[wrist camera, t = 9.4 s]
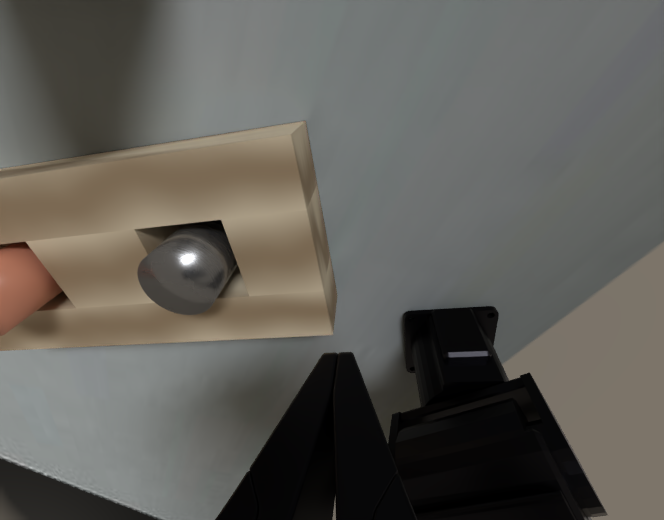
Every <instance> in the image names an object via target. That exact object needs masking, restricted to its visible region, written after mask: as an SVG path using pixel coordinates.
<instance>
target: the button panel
mask: <svg viewBox="0 0 664 520" xmlns="http://www.w3.org/2000/svg"><path fill="white" fill-rule="evenodd" d="M213 220H221V221H222V224H223V226H224V229H225V232H226V234H227V237H228V240H229V243H230V245H231V248H232V251H233V253H234V256H235V259H236V261H237V264H238V265H237V267H236V269H235V270H234V272H233V273H232V275H231V276H230V278H229V280H228V281H227V283H226V284H225V286H224V288H223V289H222V291H221V292H220V294H219V295H218V297H217V299H216V300H215V302H214V303H213V305H212V306H211V307H210V308H209V309H208V310H207V311H205V312H203V313H201V314H197V315H182V314H177V313H174V312H171V311H168V310H166V309H164V308H162V307H161V306H159V305H158V304H156V303H155V302H154V301H152V300H151V299H150V298H149V297H148V296H147V295H146V293H145V292H144V291H143V289H142V287H141V285H140V283H139V280H138V275H137V271H138V266H139V264H140V262H141V261H142V260H143V259H144V258H145V257H146V256H147V255H148V254H149V253H151V252H152V251H153V250H154V249H155V248H156V247H157V246H159V245H160V244H161V243H162V242H163V241H164V240H165V239H167V238H168V237H169V236H170V235H171V234H172V233H173V232H175V231H176V230H177V229H178V228H179V227H180V226H182V225H183V224H187V223H196V222H204V221H213ZM17 242H26V243H27V244H28V246H29V247H30V248H31V249H32V251H33V252H34V253H35V255H36V256H37V257H38V259H39V260H40V261H41V263H42V264H43V265H44V267H45V268H46V269H47V270H48V272H49V273H50V274H51V276H52V277H53V278H54V280H55V281H56V282H57V284H58V285H59V286H60V288H61V289H62V290H63V291H62V292H61V293H60V294H58V295H57V296H56V297H54V298H53V299H52V300H50V301H49V302H48V303H46V304H45V305H44V306H42V307H41V308H39V309H38V310H37V311H35V312H34V313H33V314H31V315H30V316H29V317H27V318H26V319H25V320H23V321H22V322H21V323H19V324H18V325H17V326H15V327H14V328H13V329H11V330H10V331H9V332H7V333H6V334H5V335H3V336H0V351H5V350H26V349H47V348H68V347H90V346H111V345H132V344H153V343H175V342H196V341H217V340H238V339H259V338H281V337H302V336H323V335H333V329H334V320H335V312H336V303H337V291H336V285H335V280H334V274H333V269H332V263H331V258H330V252H329V247H328V241H327V236H326V230H325V225H324V219H323V214H322V208H321V203H320V197H319V192H318V186H317V181H316V175H315V170H314V164H313V159H312V153H311V148H310V142H309V137H308V131H307V126H306V121H301V122H294V123H288V124H282V125H275V126H269V127H263V128H256V129H250V130H244V131H237V132H231V133H225V134H218V135H212V136H206V137H199V138H193V139H187V140H180V141H174V142H168V143H161V144H155V145H149V146H142V147H136V148H130V149H123V150H117V151H111V152H104V153H98V154H92V155H85V156H79V157H73V158H66V159H60V160H53V161H47V162H41V163H34V164H28V165H22V166H15V167H9V168H3V169H0V249H2V248H4V247H6V246H8V245H10V244H12V243H17Z"/></svg>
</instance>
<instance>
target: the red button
mask: <svg viewBox="0 0 664 520" xmlns="http://www.w3.org/2000/svg"><path fill="white" fill-rule="evenodd" d="M62 291H63V290H62V289H61V288H60V286H59V285H58V284H57V282H56V281H55V280H54V278H53V277H52V276H51V274H50V273H49V272H48V270H47V269H46V268H45V267H44V265H43V264H42V263H41V261H40V260H39V259H38V257H37V256H36V255H35V253H34V252H33V251H32V249H31V248H30V247H29V246H28V244H27V243H26V242H17V243H12V244H10V245H8V246H6V247H4V248H2V249H0V336H3V335H5V334H6V333H7V332H9V331H10V330H11V329H13V328H14V327H15V326H17V325H18V324H19V323H21V322H22V321H23V320H25V319H26V318H27V317H29V316H30V315H31V314H33V313H34V312H35V311H37V310H38V309H39V308H41V307H42V306H44V305H45V304H46V303H48V302H49V301H50V300H52V299H53V298H54V297H56V296H57V295H58V294H60V293H61V292H62Z"/></svg>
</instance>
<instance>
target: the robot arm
mask: <svg viewBox="0 0 664 520" xmlns="http://www.w3.org/2000/svg"><path fill="white" fill-rule="evenodd" d="M489 313H491V314H489ZM410 317H413V318H410ZM497 321H498V312H497V310H496V308H495V307H492V306H487V307H469V308H452V309H434V310H417V311H408V312H406V313H405V314H404V329H405V353H406V369H407V371H408V372H410V373H416V379H417V385H418V391H419V397H420V402H421V407H420V408H417V409H414V410H410V411H407V412H404V413H401V412H398V413H395V414H392V420H391V427H390V435H389V442H388V444H387V441H386V438H385V436H384V433H383V430H382V428H381V425H380V423H379V420H378V417H377V415H376V412H375V409H374V407H373V404H372V402H371V399H370V396H369V394H368V391H367V388H366V386H365V383H364V380H363V378H362V375H361V373H360V370H359V367H358V365H357V362H356V359H355V357H354V354H353V353H352V352H341V353H339V354H337V353H324V354H323V355H322V356H321V358H320V359H319V361H318V362H317V364H316V366H315V367H314V369H313V370H312V372H311V373H310V375H309V376H308V378H307V380H306V381H305V383H304V384H303V386H302V387H301V389H300V391H299V392H298V394H297V395H296V397H295V398H294V400H293V401H292V403H291V405H290V406H289V408H288V409H287V411H286V412H285V414H284V415H283V417H282V419H281V420H280V422H279V423H278V425H277V426H276V428H275V430H274V431H273V433H272V434H271V436H270V437H269V439H268V440H267V442H266V444H265V445H264V447H263V448H262V450H261V451H260V453H259V454H258V456H257V458H256V459H255V461H254V462H253V464H252V465H251V467H250V471H248V472H247V473H246V474H245V476H244V478H243V479H242V481H241V482H240V484H239V486H238V487H237V489H236V490H235V492H234V493H233V495H232V496H231V497H230V499H229V500H228V502H227V503H226V505H225V506H224V508H223V509H222V511H221V512H220V514H219V515H218V516H217V518H216V519H215V520H332V517H333V509H334V500H335V497H336V520H591V518H590V517H597V516H606V515H607V513H606V511H605V509H604V507H603V505H602V503H601V501H600V499H599V498H598V496H597V494H596V492H595V490H594V488H593V487H592V484H591V483H590V481H589V479H588V477H587V475H586V473H585V472H584V469H583V468H582V466H581V464H580V462H579V460H578V458H577V457H576V455H575V453H574V451H573V449H572V447H571V445H570V444H569V442H568V440H567V438H566V436H565V435H564V433H563V431H562V429H561V427H560V425H559V424H558V422H557V420H556V419H555V416H554V415H553V413H552V411H551V410H550V408H549V406H548V404H547V402H546V401H545V399H544V397H543V395H542V393H541V392H540V390H539V388H538V386H537V385H536V383H535V381H534V379H533V378H532V376H531V374H530V373H527V374H524V375H521V376H520V378H517V379H513V380H510V381H509V379H508V377H507V375H506V373H505V371H504V368H503V366H502V364H501V362H500V360H499V358H498V356H497V353H496V351H495V349H494V347H493V345H494V339H495V333H496V327H497Z"/></svg>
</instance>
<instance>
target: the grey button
mask: <svg viewBox="0 0 664 520" xmlns="http://www.w3.org/2000/svg"><path fill="white" fill-rule="evenodd" d="M237 265H238V264H237V261H236V259H235V256H234V253H233V251H232V248H231V245H230V243H229V240H228V237H227V234H226V232H225V229H224V226H223V224H222V221H221V220H213V221H204V222H196V223H187V224H183V225H182V226H180V227H179V228H178V229H177V230H176V231H175V232H173V233H172V234H171V235H170V236H169V237H168V238H167V239H165V240H164V241H163V242H162V243H161V244H160V245H159V246H157V247H156V248H155V249H154V250H153V251H152V252H151V253H149V254H148V255H147V256H146V257H145V258H144V259H143V260H142V261H141V262H140V264H139V266H138V271H137V275H138V280H139V283H140V285H141V287H142V289H143V291H144V292H145V293H146V295H147V296H148V297H149V298H150V299H151V300H152V301H154V302H155V303H156V304H158V305H159V306H161V307H162V308H164V309H166V310H168V311H171V312H174V313H177V314H182V315H197V314H201V313H203V312H205V311H207V310H208V309H209V308H210V307H211V306H212V305H213V303H214V302H215V300H216V299H217V297H218V295H219V294H220V292H221V291H222V289H223V288H224V286H225V284H226V283H227V281H228V280H229V278H230V276H231V275H232V273H233V272H234V270H235V269H236V267H237Z"/></svg>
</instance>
